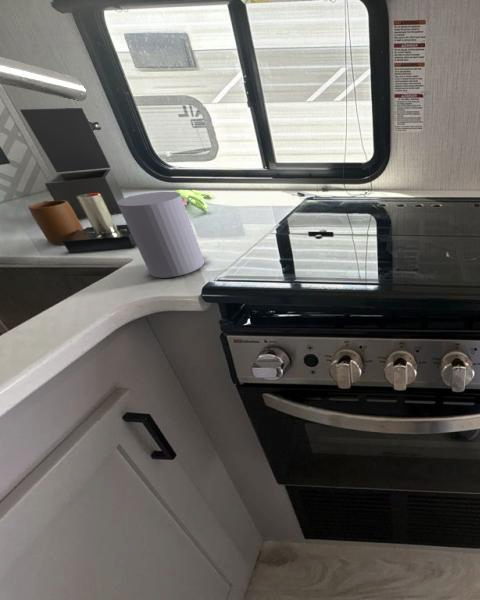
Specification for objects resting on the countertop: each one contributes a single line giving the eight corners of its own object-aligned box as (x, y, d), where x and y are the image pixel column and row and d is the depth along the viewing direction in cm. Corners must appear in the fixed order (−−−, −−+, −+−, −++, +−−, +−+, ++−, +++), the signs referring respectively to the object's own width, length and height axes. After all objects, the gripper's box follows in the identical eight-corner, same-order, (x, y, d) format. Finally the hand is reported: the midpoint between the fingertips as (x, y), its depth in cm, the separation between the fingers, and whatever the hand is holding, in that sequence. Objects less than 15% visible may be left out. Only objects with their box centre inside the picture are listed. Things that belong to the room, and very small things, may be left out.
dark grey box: (121, 213, 106) (105, 177, 101) (65, 220, 100) (44, 183, 94) (125, 201, 119) (111, 168, 113) (75, 207, 112) (57, 173, 107)
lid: (81, 108, 101) (82, 107, 101) (19, 109, 95) (20, 109, 95) (110, 167, 112) (110, 167, 113) (56, 172, 106) (57, 171, 107)
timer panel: (69, 253, 79) (61, 240, 78) (92, 238, 88) (86, 226, 86) (133, 247, 82) (128, 235, 80) (150, 233, 90) (146, 222, 88)
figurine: (137, 224, 97) (128, 205, 94) (157, 201, 118) (151, 185, 115) (206, 216, 102) (200, 198, 99) (214, 195, 124) (209, 180, 121)
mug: (45, 236, 89) (23, 201, 84) (80, 228, 94) (62, 195, 89) (51, 247, 82) (28, 210, 77) (90, 238, 87) (70, 203, 82)
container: (141, 281, 67) (105, 207, 59) (162, 260, 75) (133, 193, 67) (195, 276, 68) (168, 203, 60) (210, 256, 77) (188, 190, 69)
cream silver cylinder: (91, 235, 81) (71, 196, 76) (101, 229, 84) (82, 192, 79) (112, 233, 81) (93, 195, 77) (120, 227, 85) (103, 191, 80)
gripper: (53, 114, 120) (35, 117, 103) (98, 113, 125) (88, 115, 108) (64, 137, 124) (49, 143, 107) (107, 135, 129) (99, 140, 112)
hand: (69, 129), depth 108 cm, fingers closed
